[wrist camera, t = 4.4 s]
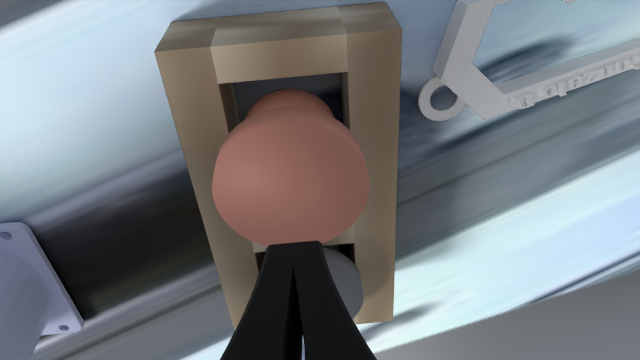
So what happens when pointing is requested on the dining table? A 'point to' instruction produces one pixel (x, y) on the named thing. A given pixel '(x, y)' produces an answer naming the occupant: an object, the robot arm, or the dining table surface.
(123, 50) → the dining table surface
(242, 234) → the brick plug
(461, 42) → the stepped key frame
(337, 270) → the grey plug
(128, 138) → the dining table surface
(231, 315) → the socket block
